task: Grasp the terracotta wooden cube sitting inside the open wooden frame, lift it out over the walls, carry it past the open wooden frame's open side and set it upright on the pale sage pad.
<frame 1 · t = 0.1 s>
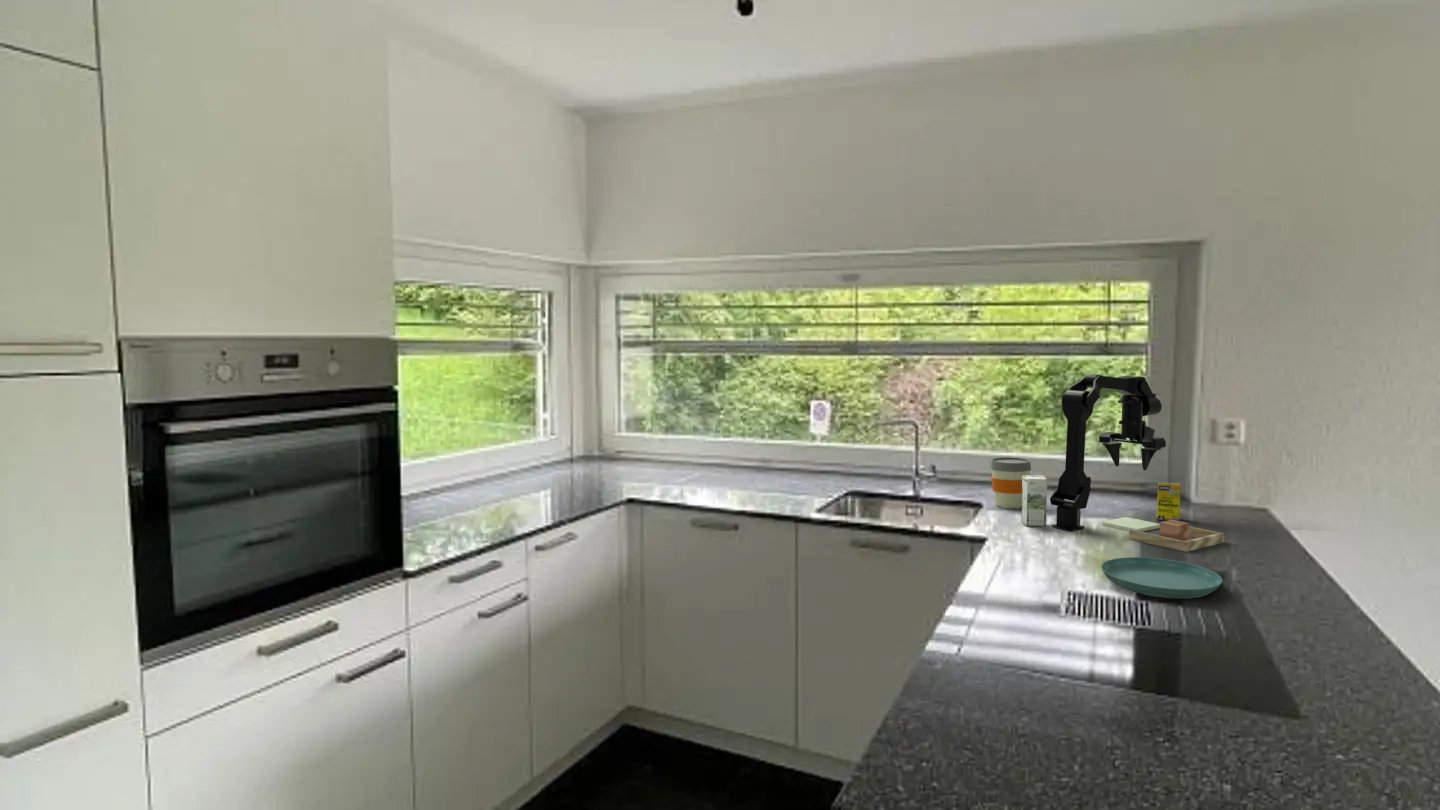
hand: (1130, 468, 254), 15 cm above the countertop, fingers open, 9 cm apart
open wooden frame: (1174, 540, 226), on the countertop
syrup box: (1033, 525, 246), on the countertop
reusable coffee cup: (1010, 506, 273), on the countertop
pad: (1131, 526, 242), on the countertop
teal plate: (1159, 586, 188), on the countertop
supplement box: (1167, 520, 249), on the countertop
terracotta cube: (1174, 531, 225), in the open wooden frame
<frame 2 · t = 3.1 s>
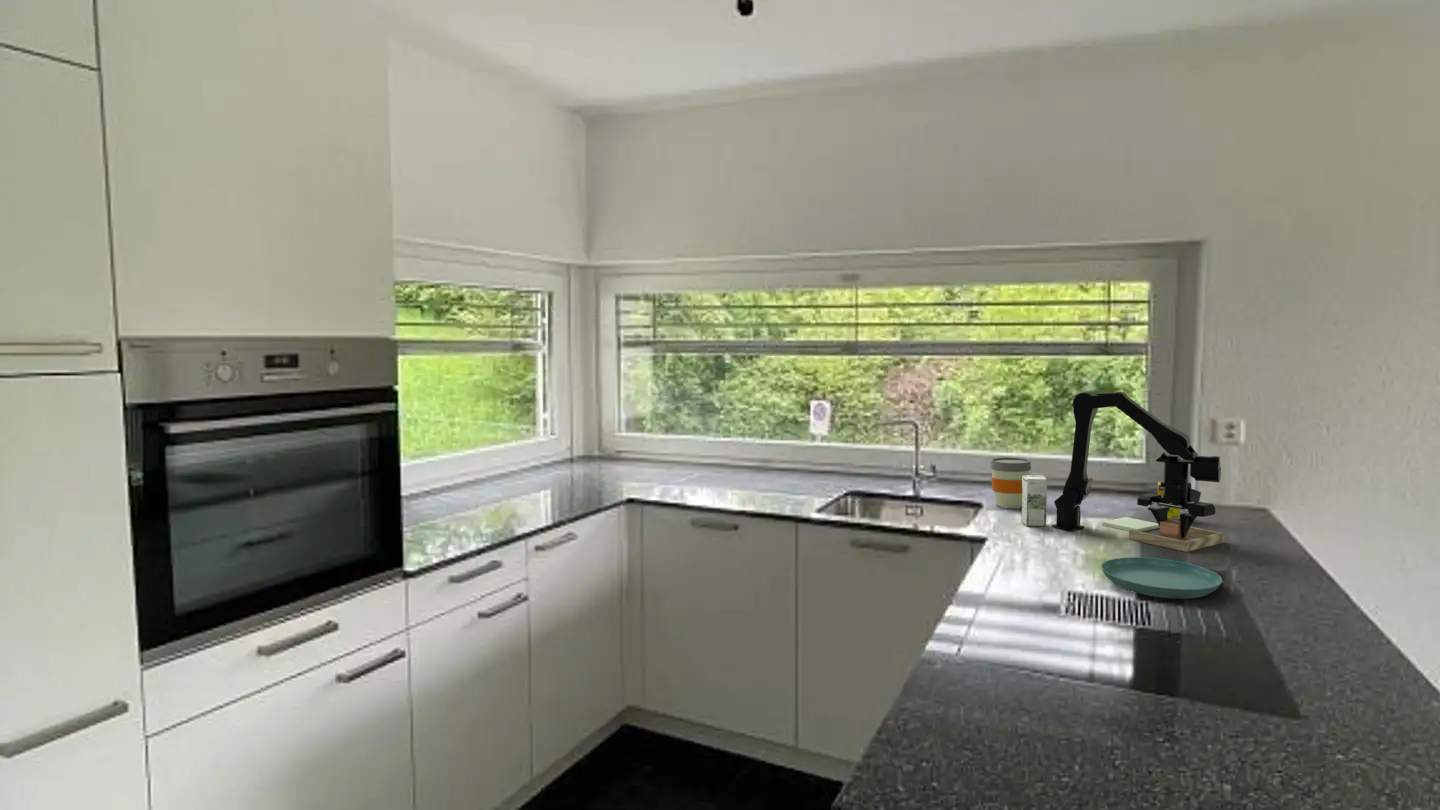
hand: (1174, 535, 225), 1 cm above the countertop, fingers closed on terracotta cube, 5 cm apart
terracotta cube: (1174, 531, 225), in the open wooden frame, touching gripper
everything else where it was.
when the fingers open (4 cm above the countertop, at t = 7.8 s): terracotta cube drops 1 cm, resting on pad.
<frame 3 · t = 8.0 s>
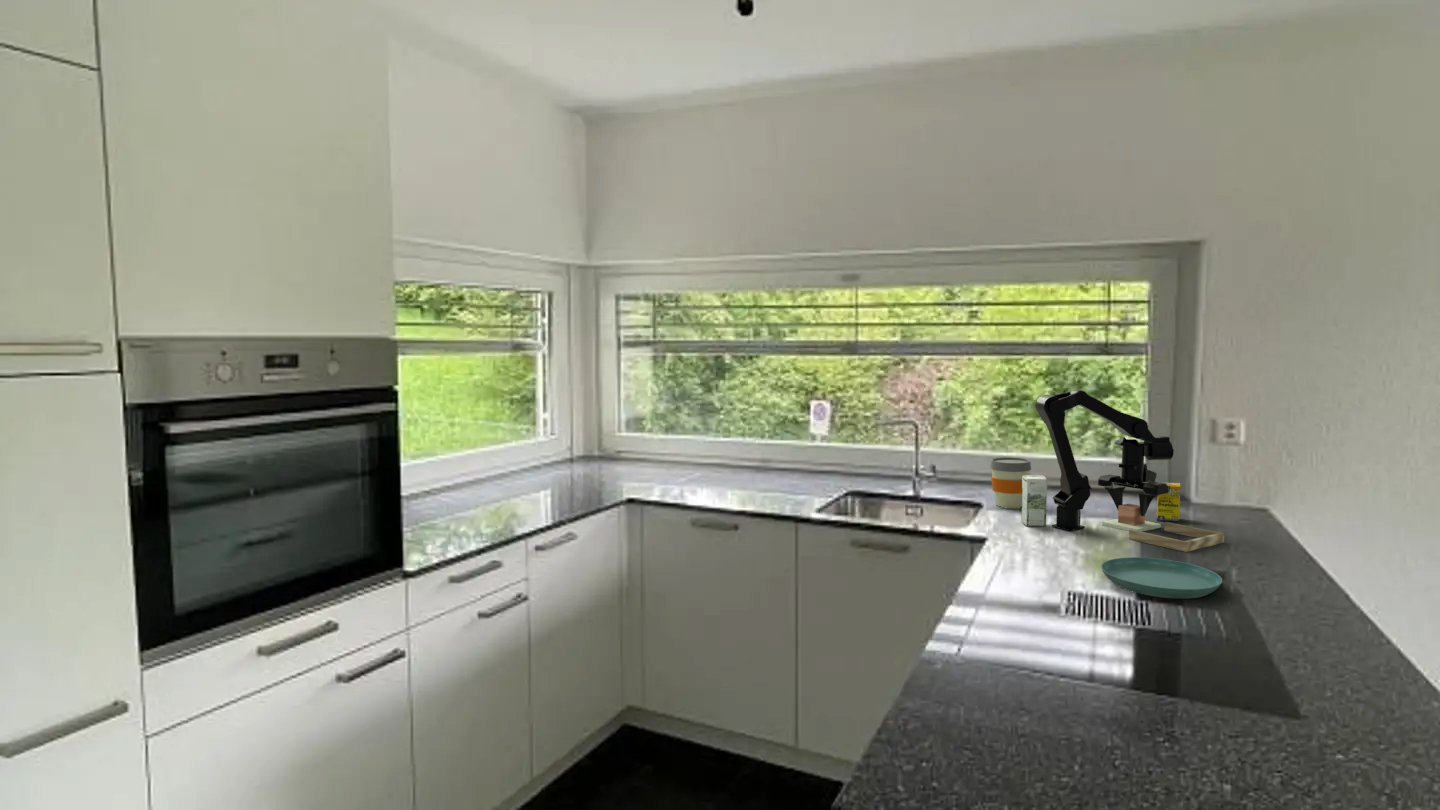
hand: (1131, 513, 242), 4 cm above the countertop, fingers open, 7 cm apart
terracotta cube: (1131, 514, 242), on the pad, point 4 cm above the countertop
everything else where it was.
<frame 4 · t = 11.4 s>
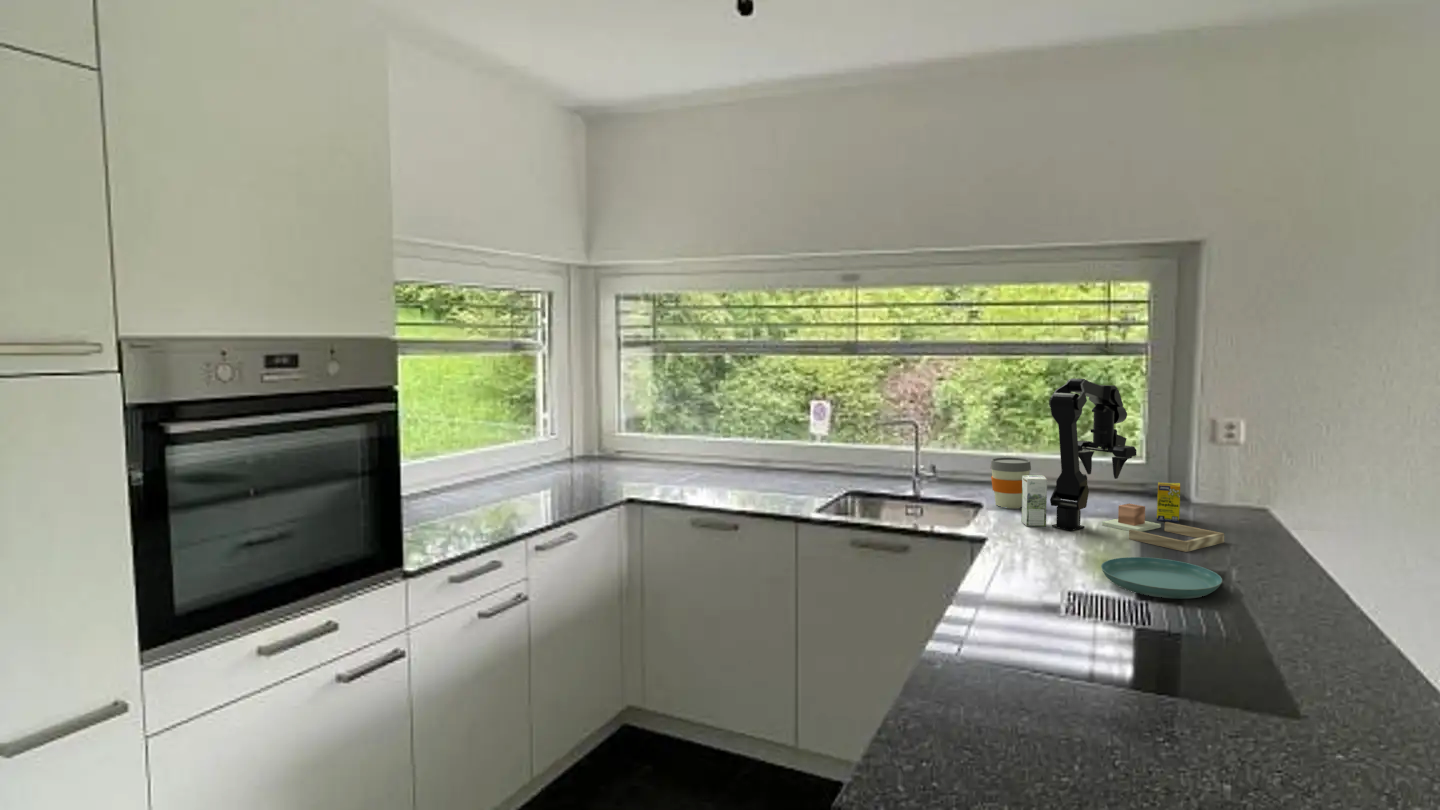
hand: (1102, 476, 256), 12 cm above the countertop, fingers open, 9 cm apart
nothing on the countertop moved.
at the end: terracotta cube inside the target area on the pad (0.0 cm from its centre), point 3.5 cm above the pad's base; terracotta cube tilted 0°; the gripper is holding nothing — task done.
